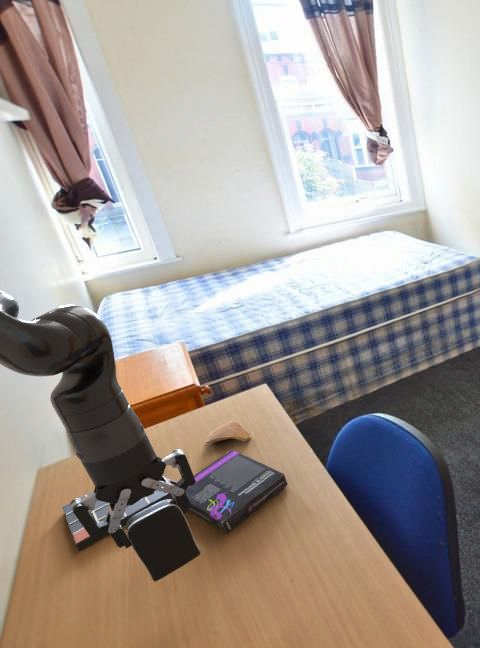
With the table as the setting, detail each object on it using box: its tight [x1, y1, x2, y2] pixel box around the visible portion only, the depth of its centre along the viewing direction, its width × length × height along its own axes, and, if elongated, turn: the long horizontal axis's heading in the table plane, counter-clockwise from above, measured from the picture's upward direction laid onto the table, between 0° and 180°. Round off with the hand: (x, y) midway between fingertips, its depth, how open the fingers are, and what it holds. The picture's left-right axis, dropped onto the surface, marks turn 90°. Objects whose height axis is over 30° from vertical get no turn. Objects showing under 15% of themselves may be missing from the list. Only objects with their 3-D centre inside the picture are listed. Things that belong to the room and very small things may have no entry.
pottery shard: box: [205, 420, 252, 445], centre depth 117 cm, size 10×9×2 cm
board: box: [61, 490, 173, 551], centre depth 99 cm, size 16×16×2 cm
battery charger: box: [125, 499, 201, 582], centre depth 74 cm, size 7×4×11 cm, turn 136°
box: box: [170, 449, 288, 534], centre depth 98 cm, size 14×4×20 cm
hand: (157, 527), depth 73 cm, fingers closed on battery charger, 7 cm apart
